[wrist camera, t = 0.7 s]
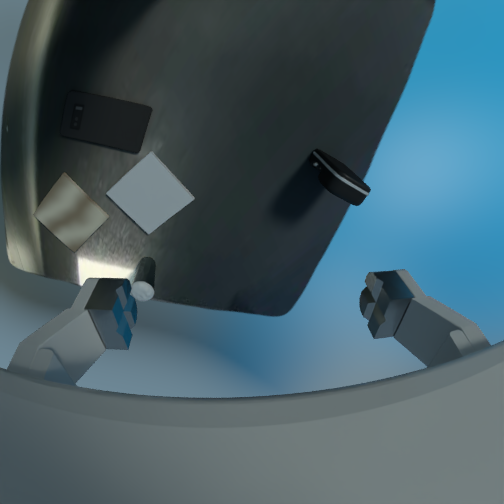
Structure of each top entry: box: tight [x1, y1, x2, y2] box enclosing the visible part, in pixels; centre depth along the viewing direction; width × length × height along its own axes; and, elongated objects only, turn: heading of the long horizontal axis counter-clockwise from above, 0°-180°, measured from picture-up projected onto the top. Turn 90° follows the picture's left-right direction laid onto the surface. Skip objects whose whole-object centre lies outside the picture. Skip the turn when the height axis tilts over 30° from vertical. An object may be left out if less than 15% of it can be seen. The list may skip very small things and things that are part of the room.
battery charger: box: [310, 149, 371, 206], centre depth 43 cm, size 7×4×11 cm, turn 63°
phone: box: [60, 91, 152, 153], centre depth 37 cm, size 8×1×15 cm
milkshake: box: [130, 257, 156, 301], centre depth 51 cm, size 4×5×10 cm
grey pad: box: [106, 151, 194, 234], centre depth 46 cm, size 11×11×1 cm
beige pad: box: [33, 172, 109, 253], centre depth 45 cm, size 12×12×1 cm
